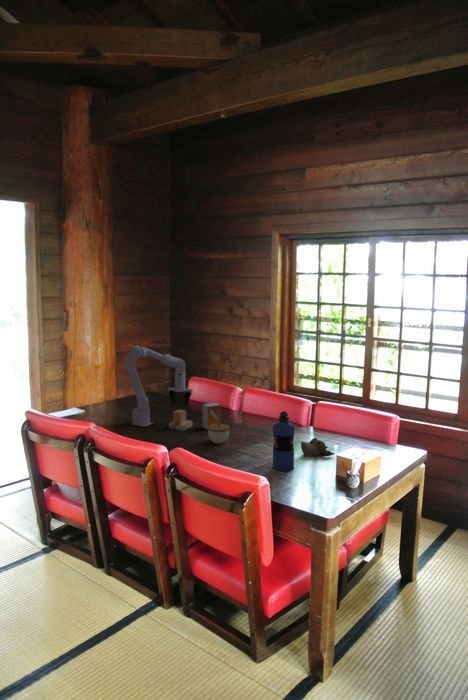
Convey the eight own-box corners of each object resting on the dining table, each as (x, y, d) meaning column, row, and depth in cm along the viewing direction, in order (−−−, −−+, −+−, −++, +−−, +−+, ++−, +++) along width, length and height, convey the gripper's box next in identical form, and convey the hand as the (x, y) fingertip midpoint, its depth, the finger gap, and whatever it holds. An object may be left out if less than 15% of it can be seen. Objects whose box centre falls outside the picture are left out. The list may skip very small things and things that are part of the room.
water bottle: (292, 464, 234) (293, 409, 230) (295, 472, 224) (296, 414, 221) (271, 464, 233) (271, 409, 230) (273, 472, 224) (274, 415, 220)
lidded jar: (224, 446, 257) (224, 427, 256) (204, 443, 261) (204, 425, 260) (232, 439, 267) (232, 421, 266) (213, 437, 271) (212, 419, 270)
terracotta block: (173, 422, 287) (173, 411, 286) (178, 420, 291) (178, 409, 290) (180, 423, 284) (180, 412, 283) (186, 421, 289) (186, 410, 288)
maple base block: (169, 428, 287) (169, 422, 286) (179, 424, 294) (179, 418, 294) (182, 431, 282) (182, 425, 282) (192, 427, 290) (192, 421, 289)
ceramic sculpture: (297, 434, 247) (328, 434, 250) (296, 452, 248) (326, 452, 251) (305, 441, 237) (336, 441, 240) (303, 460, 238) (334, 460, 241)
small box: (208, 430, 283) (208, 406, 281) (202, 427, 288) (202, 404, 286) (221, 427, 287) (220, 404, 285) (215, 425, 292) (214, 402, 290)
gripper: (165, 381, 293) (165, 405, 295) (189, 383, 288) (189, 407, 290) (170, 378, 299) (171, 402, 301) (194, 380, 294) (194, 404, 296)
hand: (180, 404), depth 296 cm, fingers open, 7 cm apart
